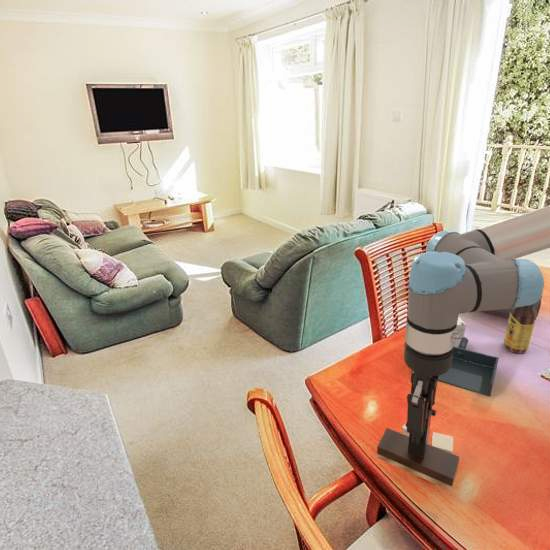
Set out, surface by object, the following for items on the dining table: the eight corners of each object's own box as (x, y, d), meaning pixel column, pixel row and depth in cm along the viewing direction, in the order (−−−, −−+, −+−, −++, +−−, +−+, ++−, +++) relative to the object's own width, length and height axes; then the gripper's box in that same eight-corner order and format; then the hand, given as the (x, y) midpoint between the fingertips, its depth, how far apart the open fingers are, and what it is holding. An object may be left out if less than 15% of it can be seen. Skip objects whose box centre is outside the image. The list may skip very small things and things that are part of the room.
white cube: (451, 450, 81) (453, 436, 80) (450, 465, 78) (452, 451, 76) (431, 445, 83) (433, 431, 81) (430, 459, 80) (431, 446, 78)
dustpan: (490, 396, 95) (492, 384, 93) (413, 373, 105) (414, 362, 103) (499, 353, 110) (502, 342, 108) (432, 336, 120) (433, 326, 118)
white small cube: (426, 440, 84) (428, 427, 83) (417, 450, 82) (418, 437, 80) (410, 430, 87) (411, 417, 85) (400, 440, 85) (401, 427, 83)
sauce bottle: (502, 340, 115) (514, 282, 107) (526, 344, 112) (540, 285, 104) (503, 352, 110) (515, 292, 102) (528, 357, 107) (543, 295, 99)
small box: (429, 327, 125) (431, 313, 123) (453, 325, 125) (454, 311, 123) (440, 340, 118) (441, 326, 116) (464, 338, 118) (466, 324, 116)
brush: (376, 458, 76) (378, 407, 70) (386, 439, 80) (388, 390, 74) (451, 492, 68) (460, 438, 62) (457, 469, 72) (466, 416, 66)
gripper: (442, 378, 54) (427, 487, 64) (462, 327, 66) (447, 426, 75) (391, 362, 58) (384, 467, 68) (418, 317, 70) (410, 412, 79)
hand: (418, 445), depth 72 cm, fingers closed on brush, 2 cm apart
